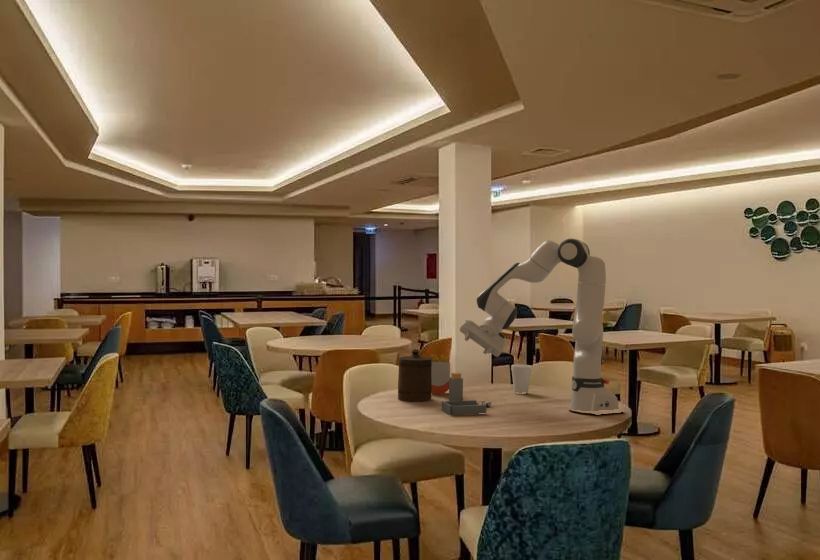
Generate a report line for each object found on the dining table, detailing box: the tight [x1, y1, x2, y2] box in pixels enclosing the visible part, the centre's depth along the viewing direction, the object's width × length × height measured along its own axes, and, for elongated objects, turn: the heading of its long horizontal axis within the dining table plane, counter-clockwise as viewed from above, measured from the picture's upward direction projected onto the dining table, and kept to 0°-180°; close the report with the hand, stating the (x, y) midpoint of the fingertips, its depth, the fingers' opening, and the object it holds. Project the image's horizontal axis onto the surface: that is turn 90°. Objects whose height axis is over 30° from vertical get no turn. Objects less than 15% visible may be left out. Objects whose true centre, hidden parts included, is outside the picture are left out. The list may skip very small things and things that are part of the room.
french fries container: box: [429, 354, 451, 395], centre depth 321 cm, size 5×11×18 cm, turn 80°
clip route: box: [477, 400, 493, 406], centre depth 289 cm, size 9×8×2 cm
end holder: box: [441, 399, 487, 416], centre depth 278 cm, size 15×11×4 cm
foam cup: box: [510, 363, 533, 393], centre depth 326 cm, size 10×9×13 cm
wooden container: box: [397, 348, 432, 403], centre depth 306 cm, size 15×15×22 cm
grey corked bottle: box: [448, 372, 464, 401], centre depth 290 cm, size 4×4×14 cm
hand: (475, 345), depth 286 cm, fingers open, 8 cm apart
